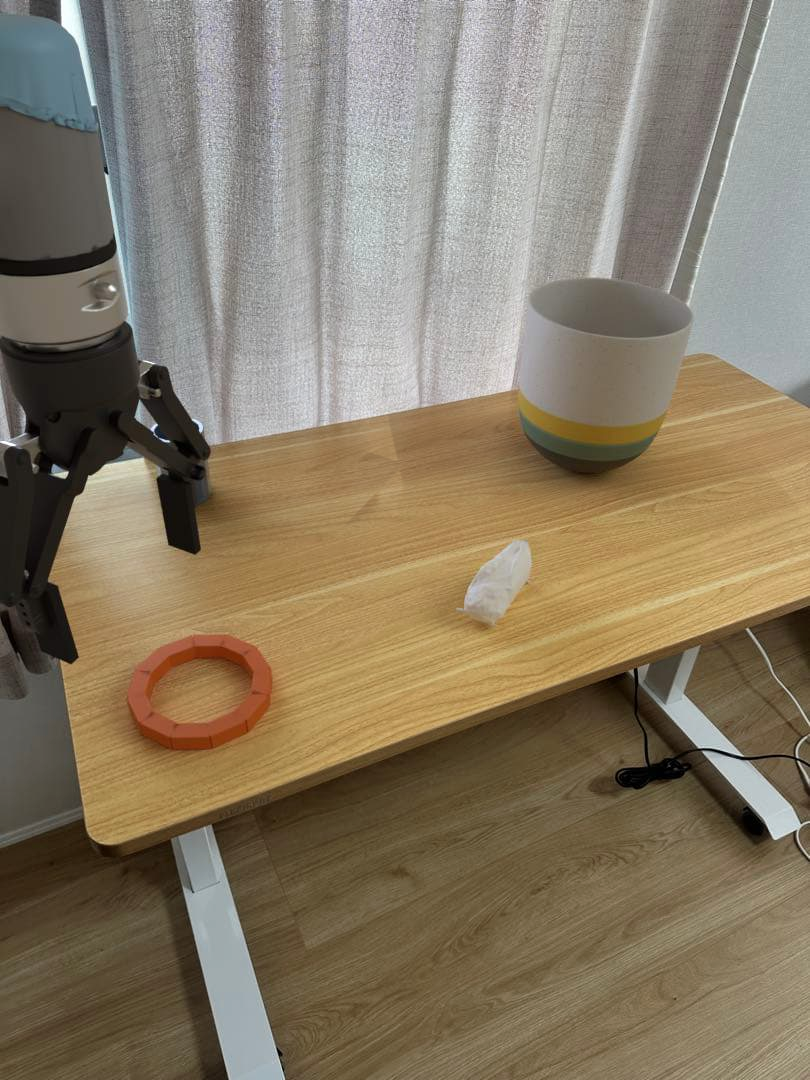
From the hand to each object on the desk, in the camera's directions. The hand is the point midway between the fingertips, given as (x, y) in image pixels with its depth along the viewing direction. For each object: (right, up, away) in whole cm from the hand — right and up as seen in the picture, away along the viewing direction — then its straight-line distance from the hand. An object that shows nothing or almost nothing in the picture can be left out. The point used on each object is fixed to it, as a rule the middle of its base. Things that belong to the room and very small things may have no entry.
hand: (127, 597), depth 60 cm
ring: (+2, -10, +13) cm, 16 cm away
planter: (+45, +15, +49) cm, 68 cm away
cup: (-6, +10, +38) cm, 40 cm away
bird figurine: (+31, -2, +25) cm, 39 cm away
